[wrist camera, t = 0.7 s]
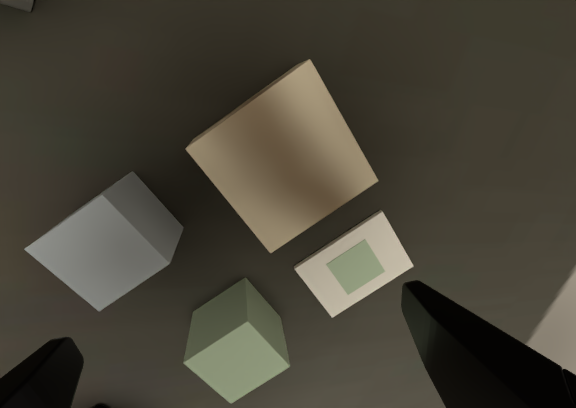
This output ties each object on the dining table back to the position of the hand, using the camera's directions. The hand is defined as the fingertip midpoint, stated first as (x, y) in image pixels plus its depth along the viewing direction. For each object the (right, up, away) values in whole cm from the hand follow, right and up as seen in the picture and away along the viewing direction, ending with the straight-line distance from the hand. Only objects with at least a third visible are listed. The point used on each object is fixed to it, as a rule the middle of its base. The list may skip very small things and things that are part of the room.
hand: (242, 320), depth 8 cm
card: (+7, -2, +17) cm, 18 cm away
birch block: (+1, +7, +13) cm, 15 cm away
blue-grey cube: (-10, +2, +13) cm, 16 cm away
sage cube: (-3, -6, +17) cm, 18 cm away
